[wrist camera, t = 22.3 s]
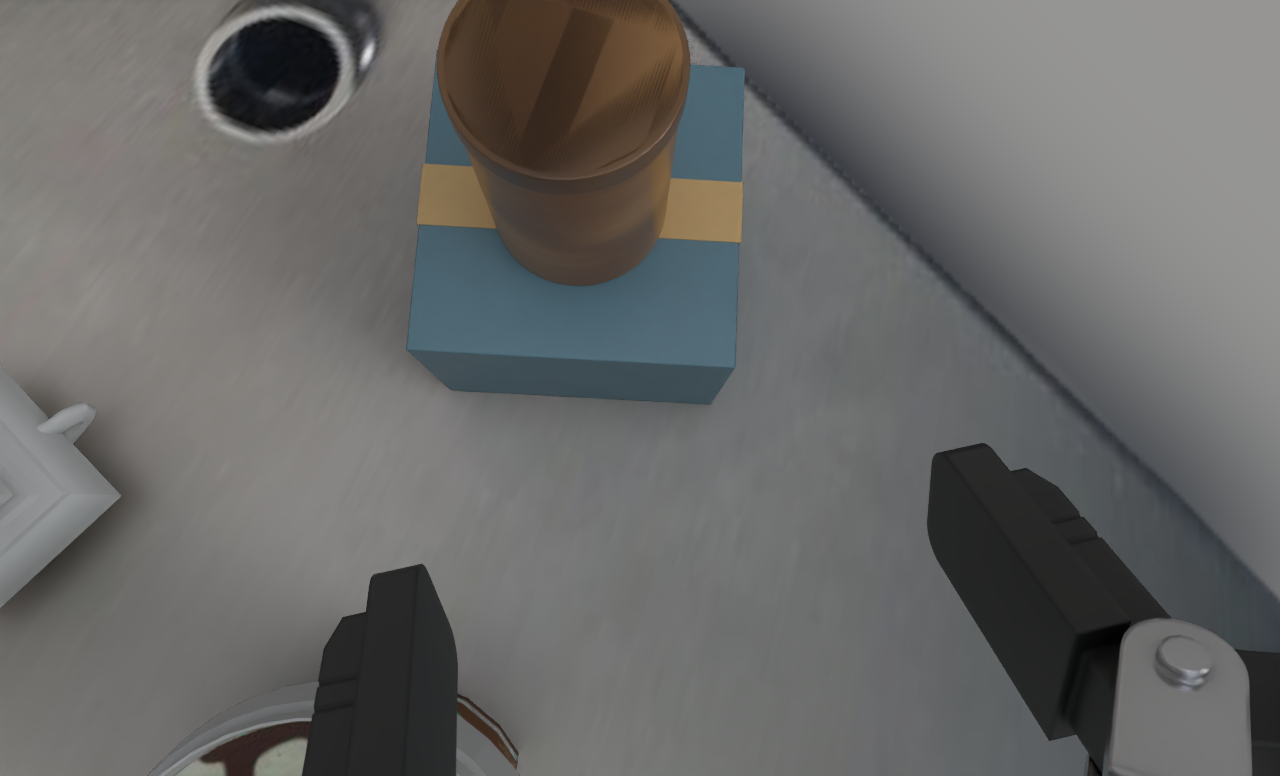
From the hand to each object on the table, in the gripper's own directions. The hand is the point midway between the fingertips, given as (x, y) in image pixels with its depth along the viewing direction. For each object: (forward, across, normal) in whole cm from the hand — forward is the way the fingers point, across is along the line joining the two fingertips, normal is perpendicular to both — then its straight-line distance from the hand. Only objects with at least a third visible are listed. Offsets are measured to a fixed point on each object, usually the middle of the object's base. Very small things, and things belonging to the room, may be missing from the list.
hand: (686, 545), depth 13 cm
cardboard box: (+21, 0, +6) cm, 22 cm away
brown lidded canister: (+16, 0, +1) cm, 16 cm away
